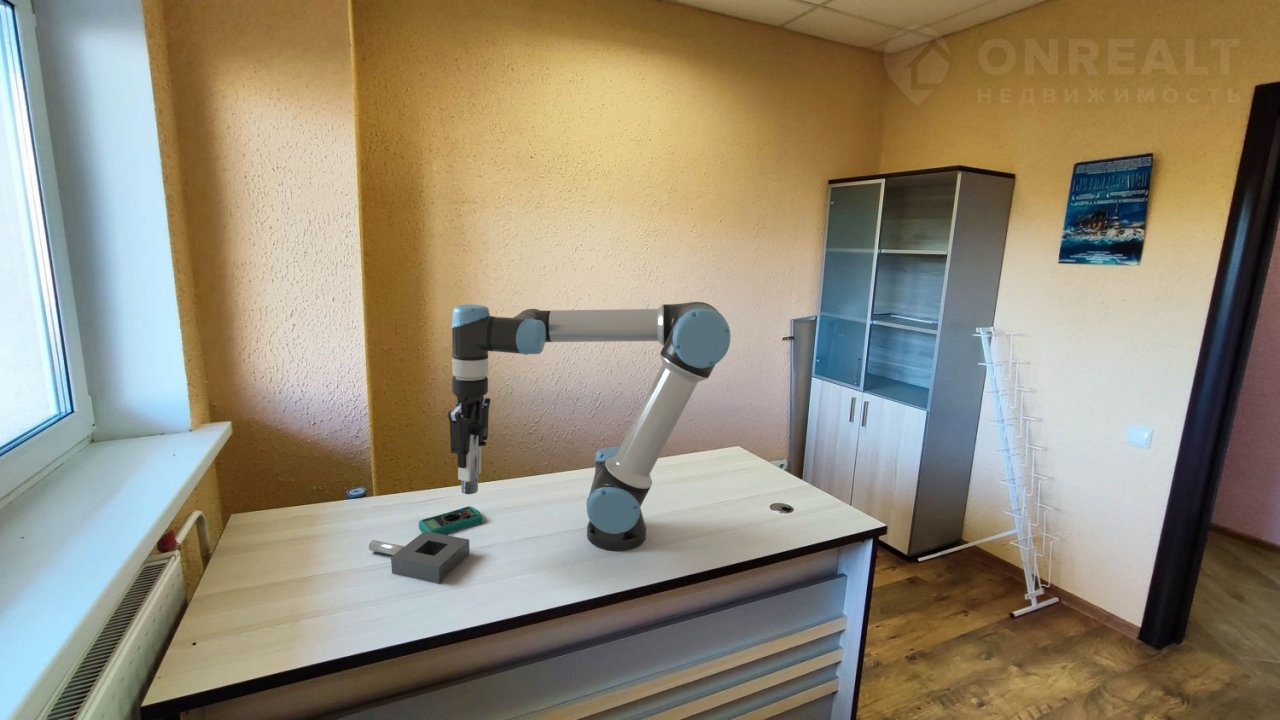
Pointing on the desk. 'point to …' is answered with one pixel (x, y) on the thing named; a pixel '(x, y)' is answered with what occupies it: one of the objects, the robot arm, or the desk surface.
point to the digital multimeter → (451, 521)
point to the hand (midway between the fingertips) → (469, 476)
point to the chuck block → (425, 556)
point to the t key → (473, 458)
